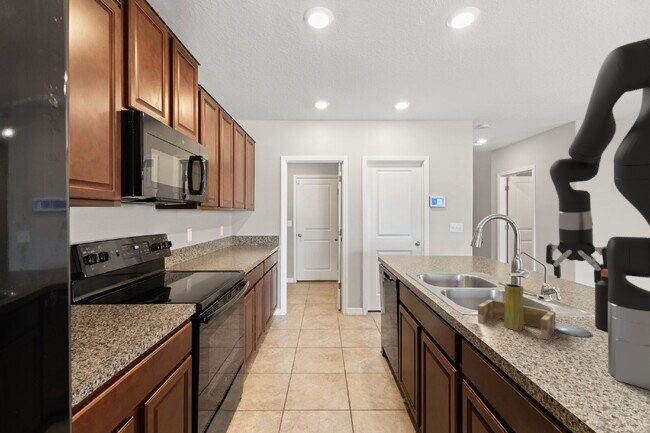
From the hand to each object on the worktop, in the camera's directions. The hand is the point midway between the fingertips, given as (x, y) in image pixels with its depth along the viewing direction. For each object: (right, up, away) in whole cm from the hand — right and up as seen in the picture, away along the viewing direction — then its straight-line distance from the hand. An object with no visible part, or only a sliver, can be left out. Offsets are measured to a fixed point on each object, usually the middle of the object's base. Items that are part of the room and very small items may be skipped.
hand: (577, 279), depth 87 cm
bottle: (+20, -19, +11) cm, 30 cm away
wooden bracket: (-10, -19, +14) cm, 25 cm away
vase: (-10, -19, +13) cm, 26 cm away
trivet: (+6, -19, +9) cm, 22 cm away
